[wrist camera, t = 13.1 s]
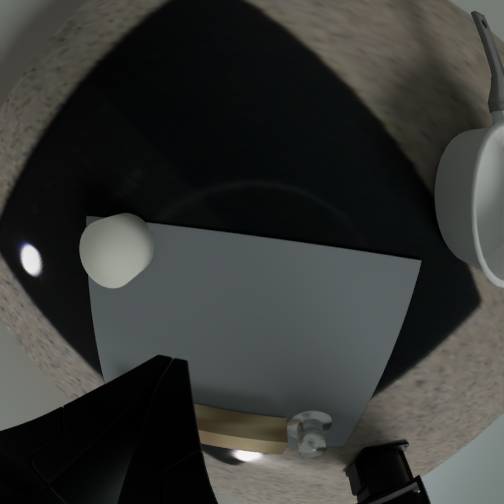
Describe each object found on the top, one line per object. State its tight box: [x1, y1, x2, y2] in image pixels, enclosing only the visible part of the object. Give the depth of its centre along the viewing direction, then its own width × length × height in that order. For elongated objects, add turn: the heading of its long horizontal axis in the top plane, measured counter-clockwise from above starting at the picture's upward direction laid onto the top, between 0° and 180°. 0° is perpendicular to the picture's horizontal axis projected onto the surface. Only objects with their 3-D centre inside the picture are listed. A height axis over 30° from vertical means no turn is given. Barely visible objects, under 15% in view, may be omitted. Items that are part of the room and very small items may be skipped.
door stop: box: [80, 213, 155, 288], centre depth 17 cm, size 4×4×3 cm
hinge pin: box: [287, 410, 332, 458], centre depth 21 cm, size 4×4×4 cm
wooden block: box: [194, 403, 288, 454], centre depth 21 cm, size 13×2×3 cm, turn 80°
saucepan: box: [435, 11, 504, 288], centre depth 13 cm, size 12×20×6 cm, turn 8°
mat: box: [86, 216, 421, 447], centre depth 21 cm, size 25×21×1 cm
